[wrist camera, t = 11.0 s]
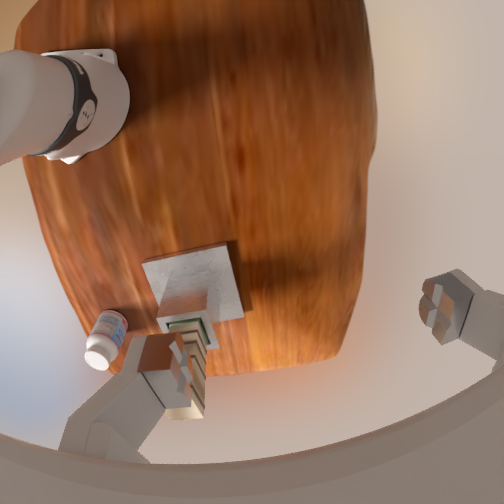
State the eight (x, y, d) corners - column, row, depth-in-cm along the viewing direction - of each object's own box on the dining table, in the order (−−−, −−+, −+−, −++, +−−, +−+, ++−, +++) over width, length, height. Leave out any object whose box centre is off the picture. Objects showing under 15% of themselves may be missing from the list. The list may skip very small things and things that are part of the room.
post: (182, 327, 42) (169, 420, 27) (173, 305, 40) (153, 400, 25) (208, 322, 42) (205, 418, 27) (200, 300, 40) (192, 397, 25)
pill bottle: (126, 336, 52) (112, 377, 42) (99, 326, 50) (80, 365, 40) (130, 314, 50) (114, 356, 39) (101, 304, 48) (80, 343, 38)
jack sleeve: (170, 324, 51) (161, 372, 40) (143, 259, 45) (122, 300, 34) (243, 311, 51) (249, 359, 40) (226, 241, 45) (226, 281, 34)
